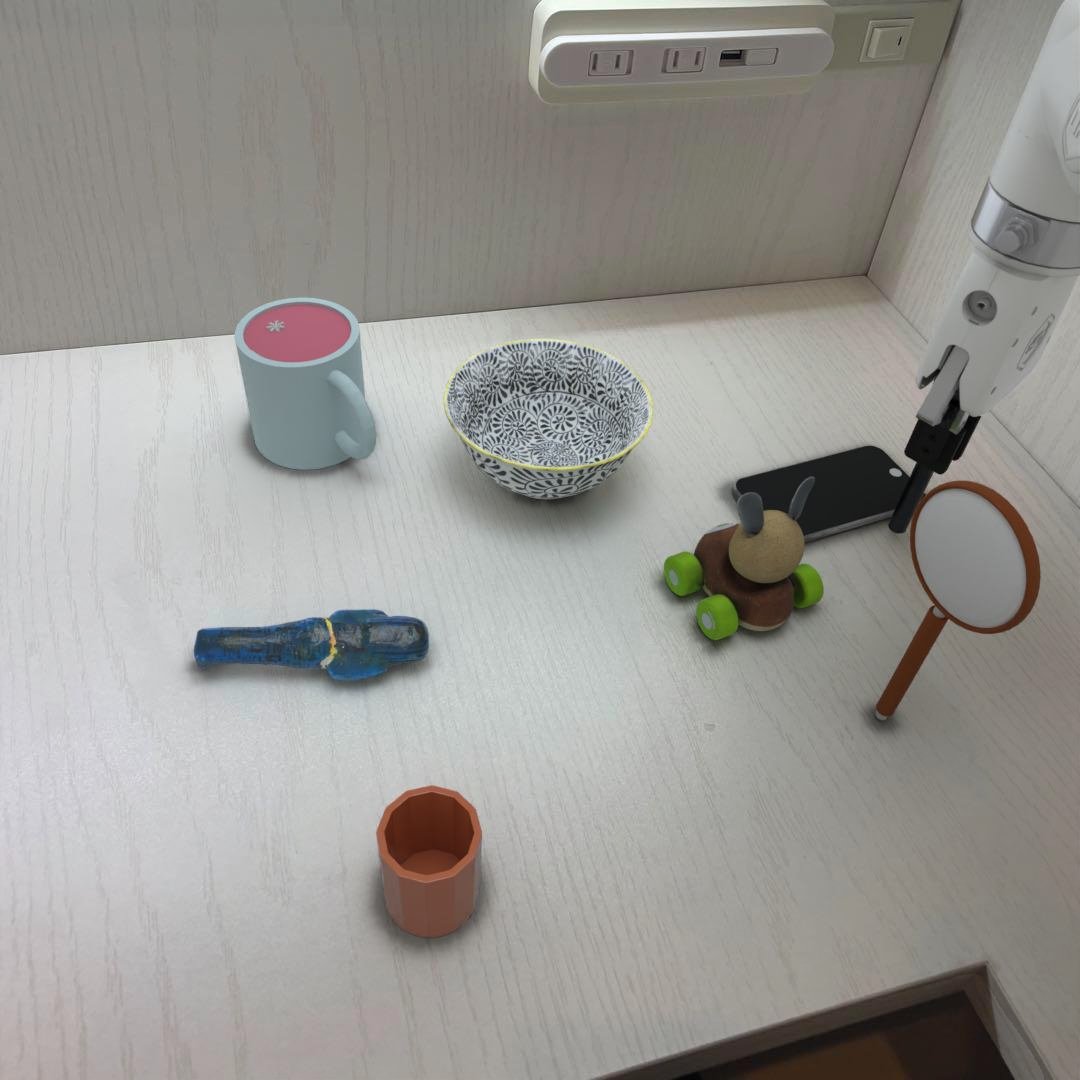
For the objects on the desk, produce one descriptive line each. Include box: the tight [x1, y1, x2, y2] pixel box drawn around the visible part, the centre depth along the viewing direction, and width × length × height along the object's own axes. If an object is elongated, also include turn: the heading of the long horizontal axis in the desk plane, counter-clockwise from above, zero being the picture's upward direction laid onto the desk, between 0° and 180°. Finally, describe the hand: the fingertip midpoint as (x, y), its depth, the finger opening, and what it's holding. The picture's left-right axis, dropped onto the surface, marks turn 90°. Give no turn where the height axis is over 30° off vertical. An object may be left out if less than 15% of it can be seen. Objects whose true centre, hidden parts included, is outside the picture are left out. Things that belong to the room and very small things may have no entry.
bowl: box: [442, 338, 654, 500], centre depth 76 cm, size 16×16×8 cm
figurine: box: [193, 608, 430, 681], centre depth 64 cm, size 5×4×15 cm
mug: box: [234, 297, 377, 471], centre depth 76 cm, size 14×9×10 cm
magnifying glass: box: [875, 479, 1042, 721], centre depth 57 cm, size 9×2×20 cm, turn 23°
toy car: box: [663, 477, 825, 641], centre depth 67 cm, size 9×9×11 cm
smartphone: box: [731, 445, 927, 543], centre depth 79 cm, size 8×1×15 cm
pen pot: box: [375, 784, 483, 938], centre depth 52 cm, size 5×5×7 cm
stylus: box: [887, 400, 960, 535], centre depth 71 cm, size 1×1×13 cm
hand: (931, 455), depth 70 cm, fingers closed on stylus, 1 cm apart
